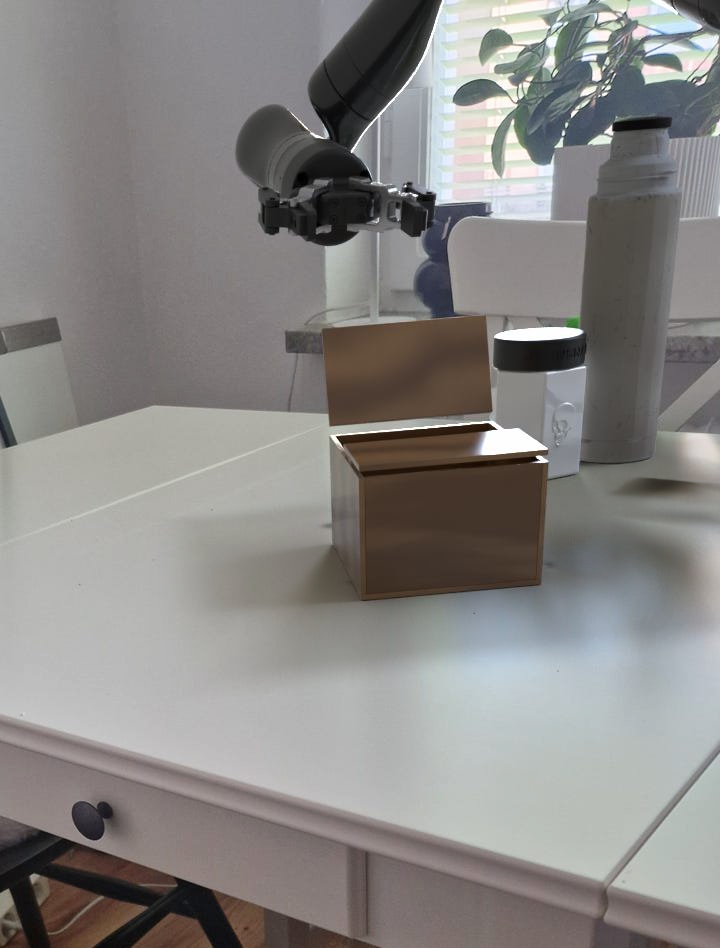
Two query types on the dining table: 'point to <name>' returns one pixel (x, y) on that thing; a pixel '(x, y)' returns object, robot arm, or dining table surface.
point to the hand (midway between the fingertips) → (365, 224)
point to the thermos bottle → (628, 291)
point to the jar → (542, 390)
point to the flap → (407, 370)
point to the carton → (438, 509)
